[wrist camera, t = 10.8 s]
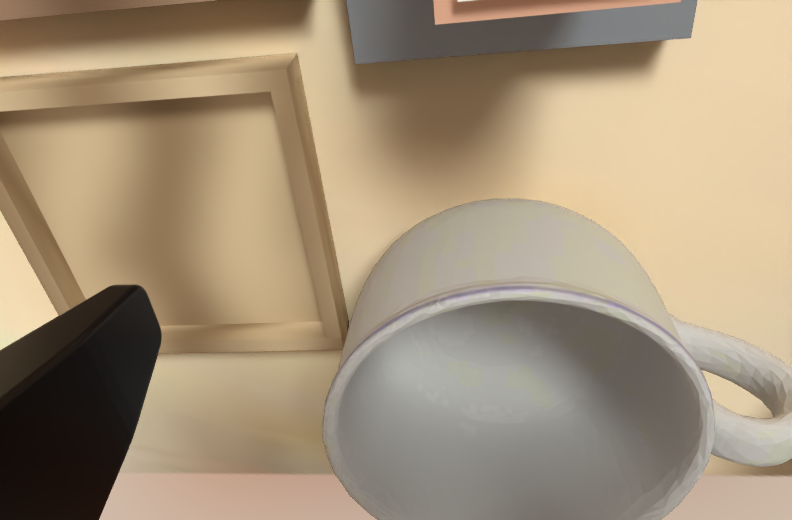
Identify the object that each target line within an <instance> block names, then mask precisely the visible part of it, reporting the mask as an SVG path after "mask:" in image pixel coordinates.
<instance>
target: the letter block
mask: <svg viewBox="0 0 792 520" xmlns="http://www.w3.org/2000/svg"><path fill="white" fill-rule="evenodd" d="M433 2H434V17H435V25H438V24H449V23H459V22H470V21H481V20H492V19H503V18H514V17H525V16H536V15H547V14H557V13H568V12H579V11H590V10H601V9H612V8H623V7H634V6H645V5H655V4H666V3H677V2H681V0H433Z"/></svg>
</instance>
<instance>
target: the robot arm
mask: <svg viewBox="0 0 792 520" xmlns="http://www.w3.org/2000/svg"><path fill="white" fill-rule="evenodd" d="M161 340H162V333H161V328H160V325H159V322H158V320H157V317H156V314H155V312H154V309H153V307H152V304H151V302H150V299H149V297H148V294H147V292H146V290H145V289H144V288H143V287H142V286H140V285H136V284H131V285H111V286H109V287H107V288H105V289H104V290H102V291H100V292H99V293H97V294H95V295H93V296H92V297H90V298H88V299H87V300H85V301H83V302H82V303H80V304H78V305H76V306H75V307H73V308H71V309H70V310H68V311H66V312H65V313H63V314H61V315H59V316H58V317H56V318H54V319H53V320H51V321H49V322H48V323H46V324H44V325H42V326H41V327H39V328H37V329H36V330H34V331H32V332H30V333H29V334H27V335H25V336H24V337H22V338H20V339H19V340H17V341H15V342H13V343H12V344H10V345H8V346H7V347H5V348H3V349H2V350H0V520H99V518H100V516H101V513H102V511H103V509H104V506H105V504H106V501H107V499H108V497H109V494H110V492H111V489H112V487H113V485H114V482H115V480H116V478H117V475H118V473H119V471H120V468H121V466H122V463H123V461H124V459H125V456H126V454H127V451H128V449H129V446H130V444H131V441H132V439H133V436H134V433H135V430H136V427H137V424H138V420H139V417H140V414H141V410H142V407H143V403H144V400H145V397H146V393H147V390H148V387H149V383H150V380H151V376H152V373H153V370H154V366H155V363H156V360H157V356H158V353H159V349H160V346H161Z"/></svg>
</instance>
